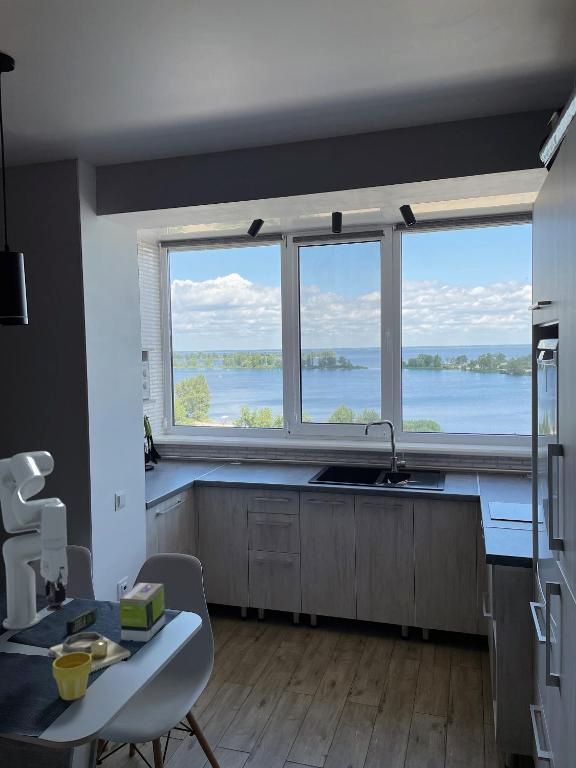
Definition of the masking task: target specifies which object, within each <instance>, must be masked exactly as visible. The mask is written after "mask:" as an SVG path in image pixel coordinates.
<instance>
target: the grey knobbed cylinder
mask: <svg viewBox="0 0 576 768" xmlns="http://www.w3.org/2000/svg"><path fill="white" fill-rule="evenodd" d="M59 579H61V577H60V578H58V580H59ZM60 583H61V581H59V582H58V585H59V584H60ZM49 587H50V595H48V596H47V597H46V596H45V597H44V598H45V600H46V603H47V604H48V606H47V607H46V610H47V611H48V612H57V611H61V610H63V609H64V608H65V604H63V602H59V603H55V590H56V588H55V582H51V581H50V585H49Z"/></svg>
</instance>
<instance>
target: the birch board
mask: <svg viewBox="0 0 576 768" xmlns="http://www.w3.org/2000/svg"><path fill="white" fill-rule="evenodd" d="M102 636H103V640H106V641H107V652H108V655H107V656H106V657H105V658H103V659H99V660H94V659H92V669H91V671H90V672H89V674H91V672H92V673H94V672H96V671H99V670H100V668H101V669H103V667H104V668H106V667H108V666H111V665H113V664H116V663H118V662H121V661H122V659H123V660H124V658H125V659H127V658H129V656H130V657H131V651H130V650H128V649H127V648H124V647H123V646H122V645H120V644H118V643H116V642H114V641H112V640H110V639H109V638H107V637H106V636H104V635H102ZM93 641H96V640H95V639H81V640H78V641H76V642H73V643H70V644H69V646H70V647H86V646H89V645H91V643H92V642H93ZM63 643H64V642H63ZM63 643H60V644H57V645H54V646H51V647H49V654H51V655H52V656H54V657H55V658H56V659H57V658H58V657H60V656H62V655H65V654H68V653H66V652H65V651H63ZM88 654H90V655H91V652H90V653H88ZM126 657H127V658H126ZM105 666H106V667H105ZM98 669H99V670H98ZM95 670H96V671H95ZM93 671H94V672H93Z"/></svg>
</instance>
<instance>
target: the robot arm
mask: <svg viewBox="0 0 576 768" xmlns="http://www.w3.org/2000/svg"><path fill="white" fill-rule="evenodd" d="M54 465H55V462H54V457H53V456H52V455H51V454H50V452H48V451H45V450H39V451H30V452H29V451H28V452H27V451H26V452H21V453H17V454H15V455H13V456H12V457H9V458H1V459H0V508H1V515H2V522H3V526H4V529H5V532H7V533H8V534H15V533H23V532H27V531H34V530H36V531H37V532H33V533H30V534H29V533H28V534H22V535H18V536H17V535H16V536H13V537H10V538H8V539H6V540H5V542H4V543H3V545H2V555H3V556H2V557H3V561H4V564H5V576H6V577H5V578H6V581H5V582H6V606H7V607H6V610H7V611H6V612H7V613H6V614H7V618H5V619H4V620H3V622H2V627H3V628H4V629H6V630H11V631H13V630H14V631H15V630H24V629H28V628H31V627H34V626H36V625H37V624H39V623H40V622H41V620H42V616H41V614H39V613H37V604H36V603H37V602H36V601H37V597H36V592H37V591H36V573H35V570H34V569H33V568H32V566H30V565H29V564H28V563H29V562H32V561H36V560H40V576H41V577H43V578H44V584H45V598H46V597H47V596H48V595H50V587H49V585H50V581H51V582H55V588H56V590H55V603H59V602H62V603H64V602H65V601H66V588H67V584H68V574H69V573H68V571H69V570H68V569H69V568H68V556H67V550H66V548H67V547H68V539H67V538H68V535H67V533H68V532H67V507H66V504H65V503H63V502H62V500H61V499H60V498H58V497H50V498H44V499H43V498H41V499H35V500H28V499H29V498H31V497H33V496H35V495H37V494H38V493H39V492H41V490H43V489H44V487H45V485H46V484H45V483H46V481H45V480H46V479H45V476H48V475H49V474H51V473H52V472H53V470H54ZM27 500H28V501H27ZM58 578H60V579H59V580H58ZM59 581H60V584H59V585H58V582H59Z"/></svg>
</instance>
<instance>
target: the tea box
mask: <svg viewBox="0 0 576 768" xmlns="http://www.w3.org/2000/svg"><path fill="white" fill-rule="evenodd" d="M165 609H166V608H165V587H164V583H150V582H138V583H136V584H135V586H133V587H132V588H131V589H130V590H128V591H127V592H126V593H124V594H123V595H122V596H121V597H120V598H119V614H120V615H119V617H120V634H121V635H120V638H121V640H122V641H130V640H133V641H134V642H144V643H145V642H149V640H150V639H152V638H153V636H154V635H155V634H156V633H157V632H158V631H159V630H160V629H161V628H162V627H163V626H164V625H165V623H166V613H165Z"/></svg>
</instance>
